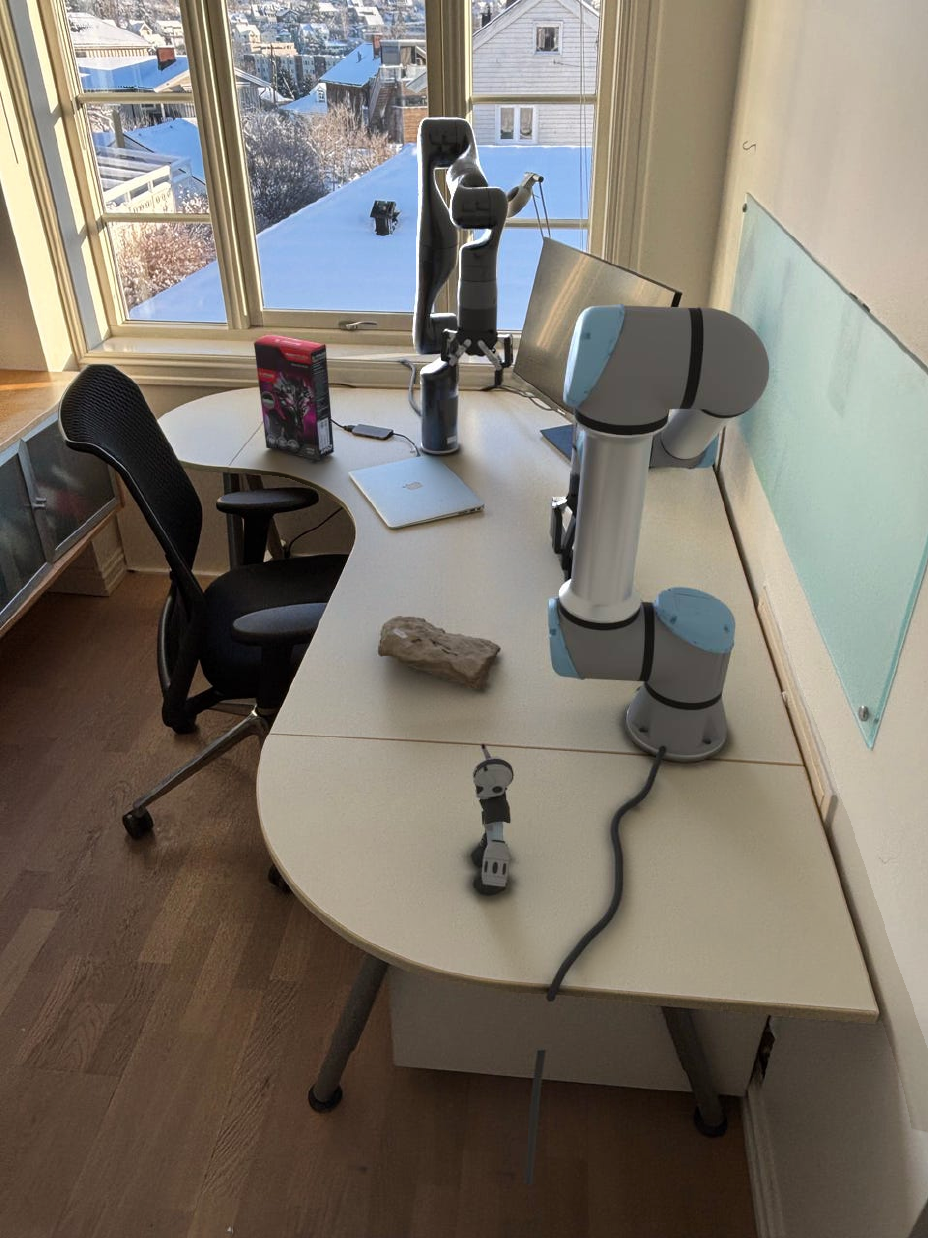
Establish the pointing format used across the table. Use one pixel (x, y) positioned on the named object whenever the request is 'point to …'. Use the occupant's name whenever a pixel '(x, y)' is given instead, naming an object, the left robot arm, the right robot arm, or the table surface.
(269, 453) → the table surface
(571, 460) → the right robot arm
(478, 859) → the robot
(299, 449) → the graphics card box
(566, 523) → the bar
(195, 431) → the table surface
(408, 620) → the stone
